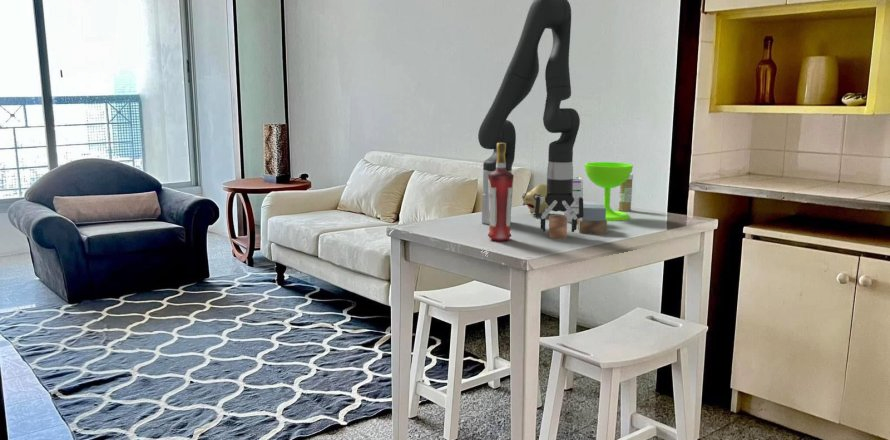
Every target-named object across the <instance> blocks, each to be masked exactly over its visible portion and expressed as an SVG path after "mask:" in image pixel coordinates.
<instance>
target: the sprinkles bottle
mask: <svg viewBox="0 0 890 440" xmlns="http://www.w3.org/2000/svg"><path fill="white" fill-rule="evenodd" d="M633 179H634V173H631V174H630V176H629V178H628V179H627V180H626V181H625V182H624V183H623V184H621V185H620V186H619V192H618V193H619V194H618V208H617V211H620V212H630V211H632V196H633V194H632V193H633Z"/></svg>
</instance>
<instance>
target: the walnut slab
mask: <svg viewBox="0 0 890 440" xmlns="http://www.w3.org/2000/svg"><path fill="white" fill-rule="evenodd" d="M607 225H608V221H606V220H605V221H582V220H581V218H578V223H577V229H578V232H579V234H592V235H593V234H595V235H597V234H598V235H599V234H601V235H607Z"/></svg>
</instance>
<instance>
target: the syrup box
mask: <svg viewBox="0 0 890 440" xmlns="http://www.w3.org/2000/svg"><path fill="white" fill-rule="evenodd" d="M583 179H584V178H583V177H582V176H573V192H572V195H573V198H575V197H582V198H583V199H584V197H583V196H584V194H583V190H584V189H583V186H584V185H583V183H584V181H583ZM570 207H571V208H572V210H573V211H574V213H575V214H578V213H579V205H577V204H576V202H575V201H574V202H573V203H572V204H571V206H570ZM563 213H564V215H563V216H567V223H569V224H570V223H571V224H572V219H573V217H572V216H571V215H570V213H569V212H568V211H567V210H566V211H565V212H563ZM577 224H578V219H577Z"/></svg>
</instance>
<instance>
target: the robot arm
mask: <svg viewBox="0 0 890 440" xmlns="http://www.w3.org/2000/svg"><path fill="white" fill-rule="evenodd" d="M571 28H572V8H571V3H570V2H569V0H533V1H532V2H531V4H530V6H529V9H528V12H527V15H526V18H525V21H524V24H523V28H522V31H521V34H520V37H519V40H518V43H517V45H516V47H515V50H514V52H513V55H512V58H511V60H510V61H509V62H510V63H509V65H508V66H507V69H506V71H505V74H504V77H503V79H502V81H501V84H500V87H499V88H498V91H497V94H496V95H495V98H494V99H493V102H492V104H491V106H490V108H489V110H488V112H487V113H486V115H485V116H484V119H483V121H482V122H481V125H480V126H479V129H478V137H477V139H478V143H479V145H480V147H482V148H483V149H486V150H493V153H492V154H491V156H490V157H488V158H486V159H485V160H484V161H483V163H482V164H483V165H482V167H483V169H482V171H483V172H482V173H483V174H482V196H481V197H482V200H481V223H482V224H485V225H486V224H487V225H489V195H488V175H489V174H490V173H491V172H493V171H495V170H496V162H497V143H506V151H505V162H506V171H508V172H510V173H512V174H513V172H512V171H513V169H512V168H513V164H514V161H515V155H516V142H517V140H516V139H517V134H516V127H515V125H514V124H513V122H511V121H510V120H508V117H509V115H510V114H511V113H512V112H513V110H514V109H516V108H517V106H519V105H520V104H521V103H522V102H523V101H524V100H525V99H526V98H527V96H528V95H529V94H530V93H531V91H532V89H533V86H534V85H535V83H536V80H537V78H538V76H539V71H540V62H539V61H540V59H539V52H538V49H539V44H540V41H541V39H542V36H543V34H544V32H545V30H546V29H550V30H551V34H552V47H551V52H550V55H549V57H548V60H547V62H546V66H545V72H544V79H545V89H546V98H545V104H544V111H543V114H542V115H543V116H542V121H543V122H542V123H543V127H544V128H545V130H546V131H547V133H551V134H560V135H559V138H558V139H557V140H554V141H552V142H550V143H549V146H548V162H547V168H546V169H547V170H546V171H547V173H546V185H547V195H546V197H540V196H536V204H535V213H534V217H536V218H539V219H540V230H542V232H546V217H547V216H548V215H549V214H550V213H551V210H552V211H553V212H562V213H564V212H565V211H566V210H567V211H568V212H569V213H570V215H571V216H572V217H573V219H572V223H571V228H570V229H571V230H570V231H571V232H572V233H575V231H577V229H578V223H577V219H578V218H582V217H583V216H584V212H583V204H584V197H583V198H582V197H575V198H573V195H572V192H573V177H574V164H573V162H574V161H573V156H574V155H573V154H574V146H575V143H576V139H577V135H578V132H579V130H580V129H579V128H580V124H581V118H580V114H579V113H578V111H577V109H575V108H571V107H568V108H567V107H564V108H563V107H562V108H561V103H562V101H565V100H568V99H569V98H571V97H572V87H571V86H572V85H571V77H570V47H571V46H570V45H571V44H570V43H571ZM543 201H545V202H546V203H547V204H548V206H547V208H546V209H545V210H544V212H543V213H539V208H540V204H542V203H543ZM574 201H575V202H576V204H577V205H579V213H578V214H575V213H574V211H573V210H572V208H571V207H570V206H571V204H572V203H573V202H574ZM511 220H512V219H511ZM511 220H510V223H511Z"/></svg>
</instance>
